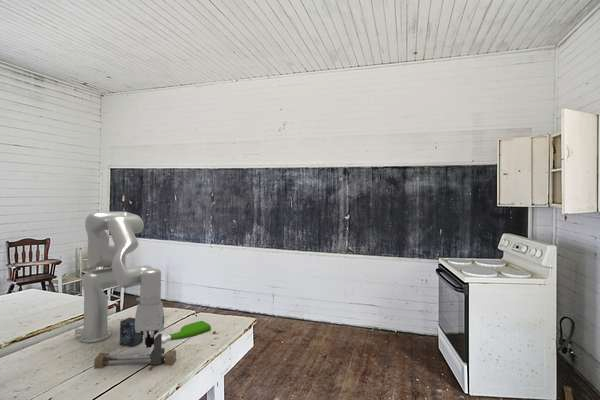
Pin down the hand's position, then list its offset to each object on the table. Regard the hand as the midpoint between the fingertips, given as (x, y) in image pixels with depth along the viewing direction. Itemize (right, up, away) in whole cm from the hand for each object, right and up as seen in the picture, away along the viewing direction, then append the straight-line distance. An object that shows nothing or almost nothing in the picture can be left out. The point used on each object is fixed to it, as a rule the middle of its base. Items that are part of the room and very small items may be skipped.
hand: (149, 346), depth 128 cm
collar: (+3, -7, 0) cm, 7 cm away
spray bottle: (+4, -8, +28) cm, 29 cm away
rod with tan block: (-5, -7, -1) cm, 8 cm away
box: (-16, -7, +17) cm, 25 cm away
